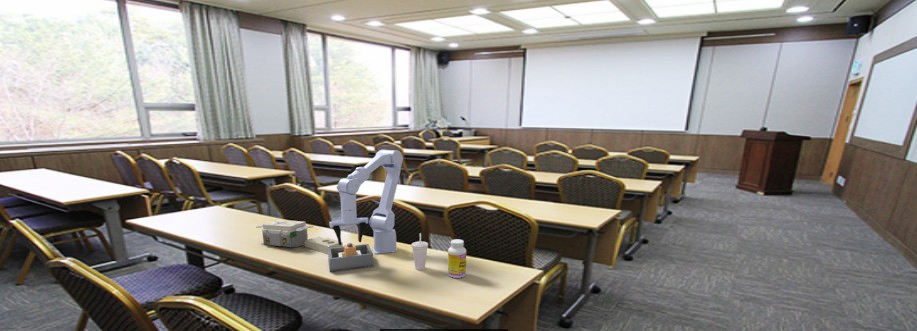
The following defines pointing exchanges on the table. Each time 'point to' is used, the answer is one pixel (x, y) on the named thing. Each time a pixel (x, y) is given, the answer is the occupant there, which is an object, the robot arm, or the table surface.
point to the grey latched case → (285, 233)
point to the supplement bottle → (457, 259)
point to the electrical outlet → (322, 244)
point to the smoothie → (419, 254)
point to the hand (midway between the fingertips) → (349, 242)
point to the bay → (350, 258)
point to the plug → (349, 249)
